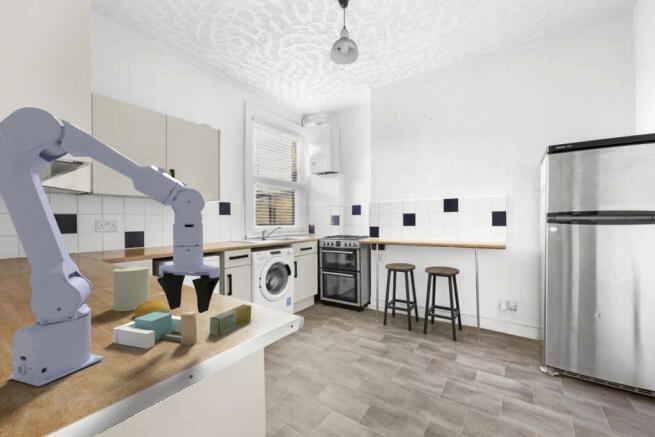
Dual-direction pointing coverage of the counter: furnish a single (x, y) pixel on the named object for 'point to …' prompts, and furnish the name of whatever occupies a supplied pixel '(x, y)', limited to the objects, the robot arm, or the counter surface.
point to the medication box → (229, 319)
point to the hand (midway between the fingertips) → (189, 309)
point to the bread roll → (151, 308)
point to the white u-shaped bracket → (140, 334)
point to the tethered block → (170, 326)
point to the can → (130, 287)
